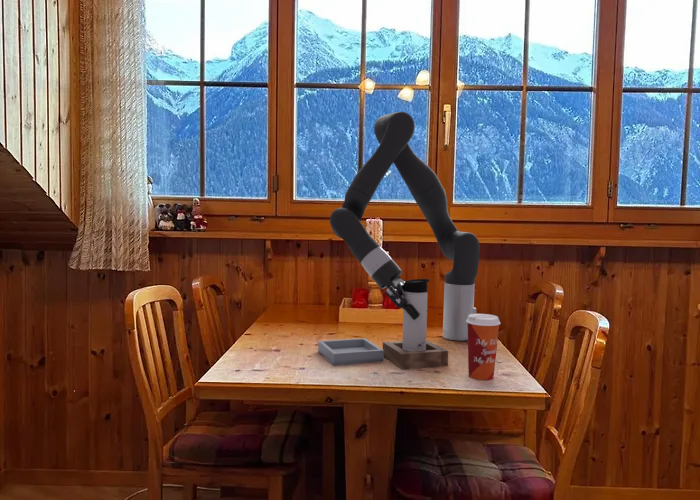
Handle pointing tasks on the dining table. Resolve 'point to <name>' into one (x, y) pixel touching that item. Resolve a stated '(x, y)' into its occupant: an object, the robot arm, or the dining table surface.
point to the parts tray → (350, 351)
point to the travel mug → (417, 328)
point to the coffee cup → (482, 345)
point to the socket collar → (415, 356)
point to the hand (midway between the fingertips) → (421, 315)
